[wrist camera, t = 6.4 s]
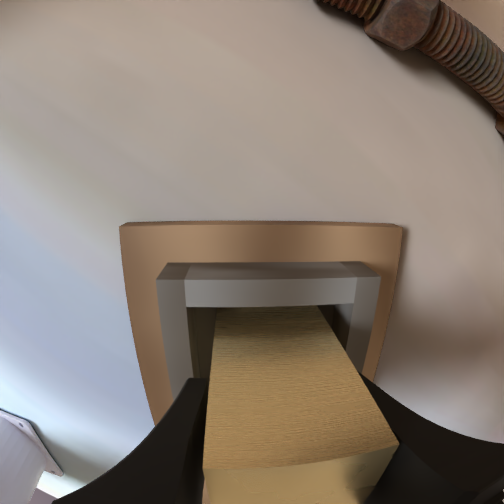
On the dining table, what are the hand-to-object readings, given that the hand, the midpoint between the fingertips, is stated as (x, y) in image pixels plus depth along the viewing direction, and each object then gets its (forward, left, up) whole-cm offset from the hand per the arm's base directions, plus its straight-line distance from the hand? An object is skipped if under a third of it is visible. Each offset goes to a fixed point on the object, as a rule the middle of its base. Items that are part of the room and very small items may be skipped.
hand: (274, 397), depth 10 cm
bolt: (+9, +15, -5) cm, 18 cm away
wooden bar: (0, 0, -3) cm, 3 cm away
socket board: (0, -5, -4) cm, 7 cm away
